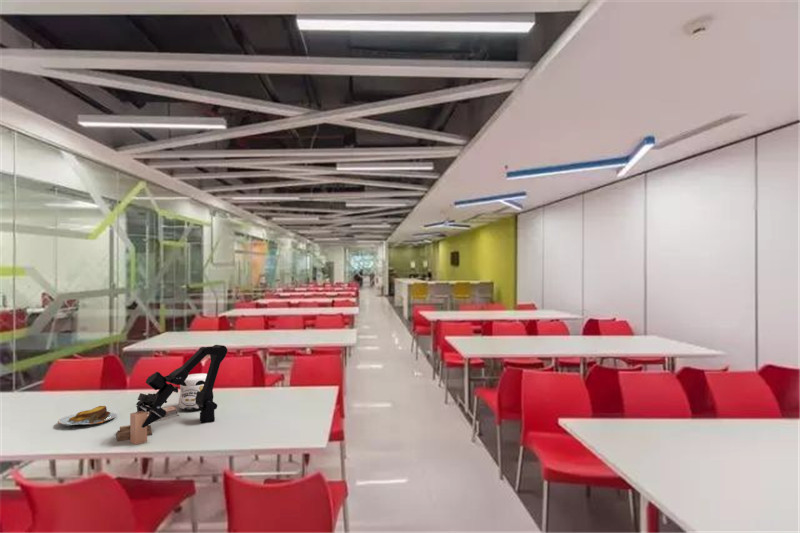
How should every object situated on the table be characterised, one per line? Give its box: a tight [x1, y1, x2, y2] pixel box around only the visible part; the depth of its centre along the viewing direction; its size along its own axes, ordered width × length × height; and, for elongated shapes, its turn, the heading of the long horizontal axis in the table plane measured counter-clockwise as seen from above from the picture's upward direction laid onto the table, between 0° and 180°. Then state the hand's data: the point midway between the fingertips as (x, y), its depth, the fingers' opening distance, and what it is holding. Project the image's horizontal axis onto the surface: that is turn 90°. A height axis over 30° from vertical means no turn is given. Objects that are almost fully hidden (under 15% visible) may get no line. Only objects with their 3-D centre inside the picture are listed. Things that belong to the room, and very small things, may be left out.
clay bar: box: [129, 411, 148, 445], centre depth 204 cm, size 5×5×13 cm
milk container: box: [178, 372, 207, 411], centre depth 254 cm, size 17×17×18 cm
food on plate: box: [57, 405, 118, 427], centre depth 233 cm, size 25×25×7 cm
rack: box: [116, 424, 153, 442], centre depth 214 cm, size 14×13×3 cm
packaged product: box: [147, 406, 180, 423], centre depth 236 cm, size 18×5×10 cm
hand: (137, 425), depth 203 cm, fingers open, 9 cm apart
